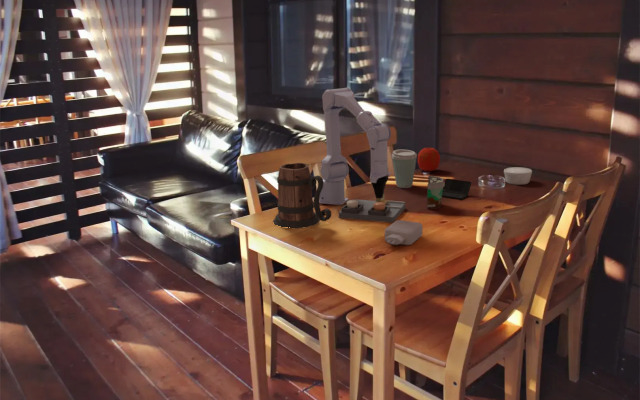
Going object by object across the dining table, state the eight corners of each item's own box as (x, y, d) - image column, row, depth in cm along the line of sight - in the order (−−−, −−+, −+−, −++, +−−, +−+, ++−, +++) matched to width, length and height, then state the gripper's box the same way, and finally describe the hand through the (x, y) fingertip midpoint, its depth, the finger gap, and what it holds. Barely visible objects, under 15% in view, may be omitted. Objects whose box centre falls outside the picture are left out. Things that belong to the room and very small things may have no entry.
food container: (444, 210, 214) (445, 184, 211) (427, 210, 215) (427, 183, 212) (444, 200, 226) (444, 175, 223) (427, 200, 227) (428, 175, 224)
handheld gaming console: (434, 194, 230) (442, 171, 232) (437, 200, 236) (445, 178, 238) (463, 201, 225) (471, 178, 227) (465, 207, 231) (473, 185, 234)
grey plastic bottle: (376, 247, 182) (395, 232, 194) (404, 252, 177) (422, 237, 189) (376, 233, 180) (395, 219, 193) (404, 237, 176) (422, 223, 188)
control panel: (338, 217, 210) (338, 208, 209) (354, 204, 225) (353, 195, 224) (393, 222, 203) (393, 213, 202) (405, 208, 218) (405, 199, 217)
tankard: (262, 222, 208) (259, 167, 202) (293, 210, 220) (291, 158, 215) (314, 235, 194) (312, 176, 188) (344, 221, 206) (343, 166, 200)
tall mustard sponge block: (376, 205, 215) (376, 194, 214) (380, 201, 220) (380, 191, 219) (384, 205, 214) (384, 195, 213) (388, 202, 219) (388, 191, 218)
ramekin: (497, 181, 251) (498, 169, 249) (517, 177, 255) (518, 165, 254) (516, 187, 241) (517, 174, 240) (537, 183, 245) (538, 171, 244)
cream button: (345, 208, 210) (345, 202, 209) (348, 204, 213) (348, 199, 213) (355, 209, 208) (355, 203, 208) (359, 205, 212) (359, 200, 211)
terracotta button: (372, 210, 206) (372, 205, 206) (375, 207, 210) (375, 201, 209) (383, 211, 205) (383, 206, 204) (386, 208, 208) (386, 202, 208)
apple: (417, 173, 268) (417, 148, 264) (417, 168, 277) (417, 144, 274) (439, 173, 266) (440, 148, 263) (439, 168, 275) (439, 144, 272)
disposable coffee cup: (420, 184, 249) (421, 149, 245) (410, 190, 240) (410, 155, 236) (398, 181, 255) (398, 147, 250) (387, 187, 246) (386, 152, 242)
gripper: (384, 165, 194) (384, 204, 198) (395, 155, 207) (395, 193, 211) (364, 164, 197) (364, 202, 201) (376, 155, 210) (376, 191, 214)
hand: (379, 197), depth 206 cm, fingers closed
